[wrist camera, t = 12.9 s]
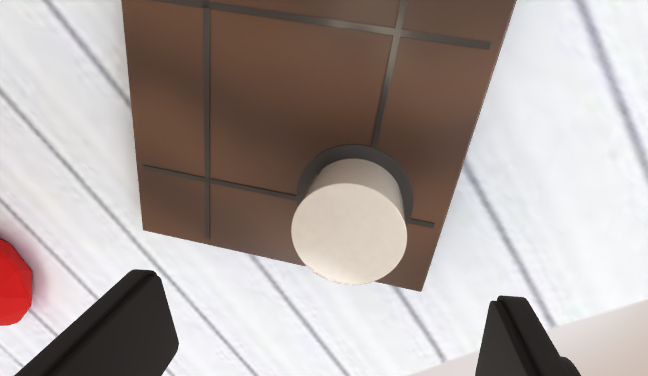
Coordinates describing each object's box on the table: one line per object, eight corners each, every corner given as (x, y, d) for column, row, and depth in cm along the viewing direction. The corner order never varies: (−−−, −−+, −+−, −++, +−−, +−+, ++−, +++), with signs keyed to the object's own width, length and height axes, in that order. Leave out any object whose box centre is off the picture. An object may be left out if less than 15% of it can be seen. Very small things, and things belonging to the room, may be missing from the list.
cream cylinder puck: (313, 150, 17) (297, 172, 14) (413, 168, 17) (420, 196, 13) (302, 234, 19) (285, 271, 16) (391, 253, 19) (392, 295, 15)
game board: (132, -111, 16) (106, -129, 14) (528, -68, 14) (545, -82, 12) (156, 219, 23) (141, 231, 21) (419, 276, 21) (421, 293, 19)
